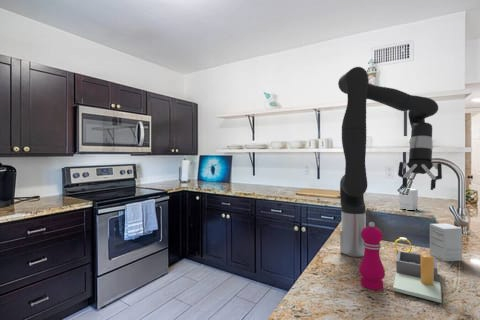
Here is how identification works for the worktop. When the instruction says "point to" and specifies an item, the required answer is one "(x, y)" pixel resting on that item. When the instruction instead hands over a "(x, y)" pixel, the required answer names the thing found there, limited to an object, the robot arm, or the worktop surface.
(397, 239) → the watch
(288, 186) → the worktop surface
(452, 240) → the supplement box
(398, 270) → the parts tub
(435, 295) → the lid
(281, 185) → the worktop surface
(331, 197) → the worktop surface
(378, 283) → the pepper mill
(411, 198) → the supplement box
